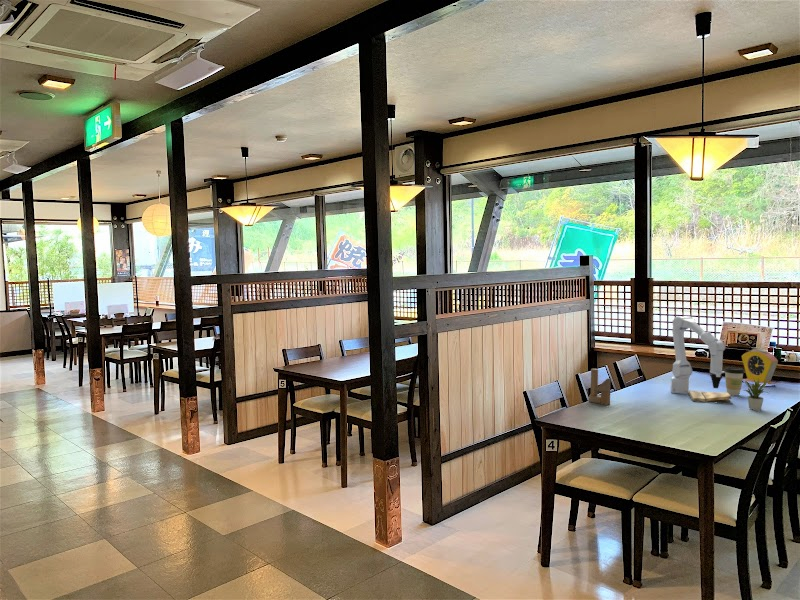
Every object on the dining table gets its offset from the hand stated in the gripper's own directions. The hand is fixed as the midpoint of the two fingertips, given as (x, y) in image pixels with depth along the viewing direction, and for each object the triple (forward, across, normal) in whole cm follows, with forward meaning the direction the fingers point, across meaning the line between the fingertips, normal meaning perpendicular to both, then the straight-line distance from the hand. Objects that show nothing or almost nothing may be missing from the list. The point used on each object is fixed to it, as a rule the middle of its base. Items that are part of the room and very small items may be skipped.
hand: (715, 388), depth 325 cm
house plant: (+7, -15, -17) cm, 24 cm away
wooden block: (+7, -26, +59) cm, 65 cm away
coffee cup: (+7, +20, -12) cm, 24 cm away
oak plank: (+5, 0, -1) cm, 6 cm away
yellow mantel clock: (+7, +58, -32) cm, 66 cm away
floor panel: (+7, +5, +2) cm, 9 cm away
